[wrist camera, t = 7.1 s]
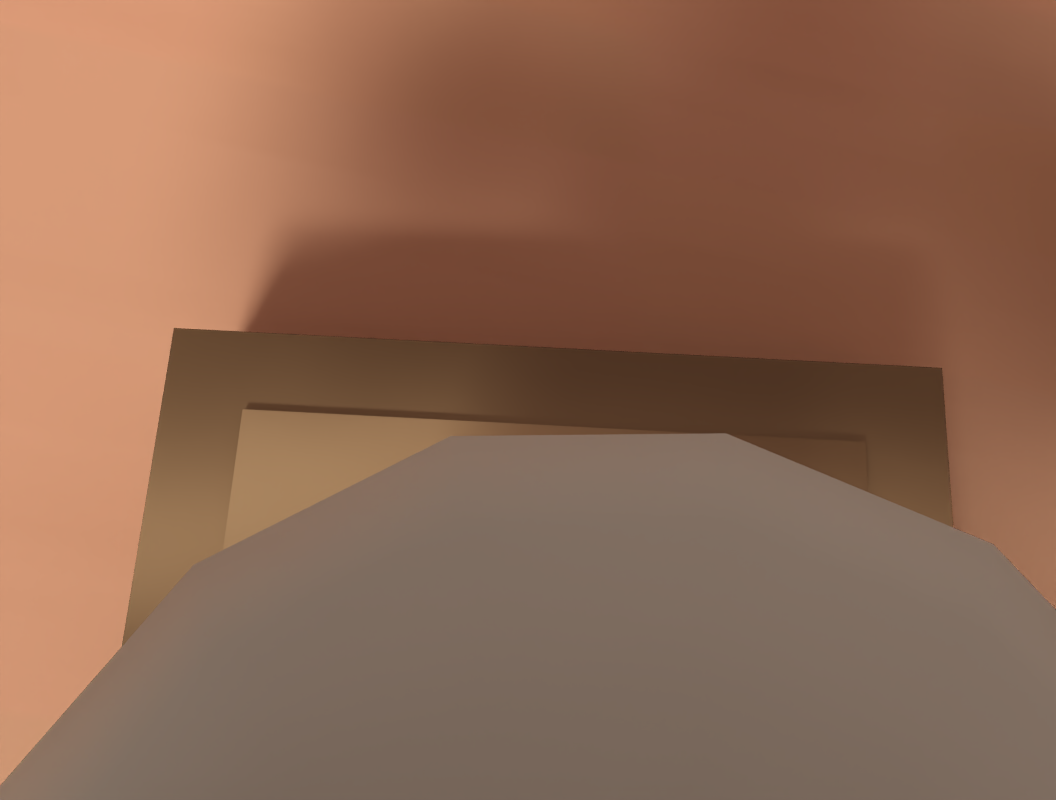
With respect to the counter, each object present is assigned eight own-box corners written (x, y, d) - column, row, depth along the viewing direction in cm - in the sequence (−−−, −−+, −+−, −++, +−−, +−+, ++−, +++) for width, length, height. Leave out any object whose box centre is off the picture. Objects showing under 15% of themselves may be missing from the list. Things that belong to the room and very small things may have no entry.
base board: (923, 1199, 17) (1013, 1314, 14) (108, 1152, 17) (17, 1256, 14) (882, 411, 21) (945, 365, 18) (222, 377, 21) (171, 325, 18)
